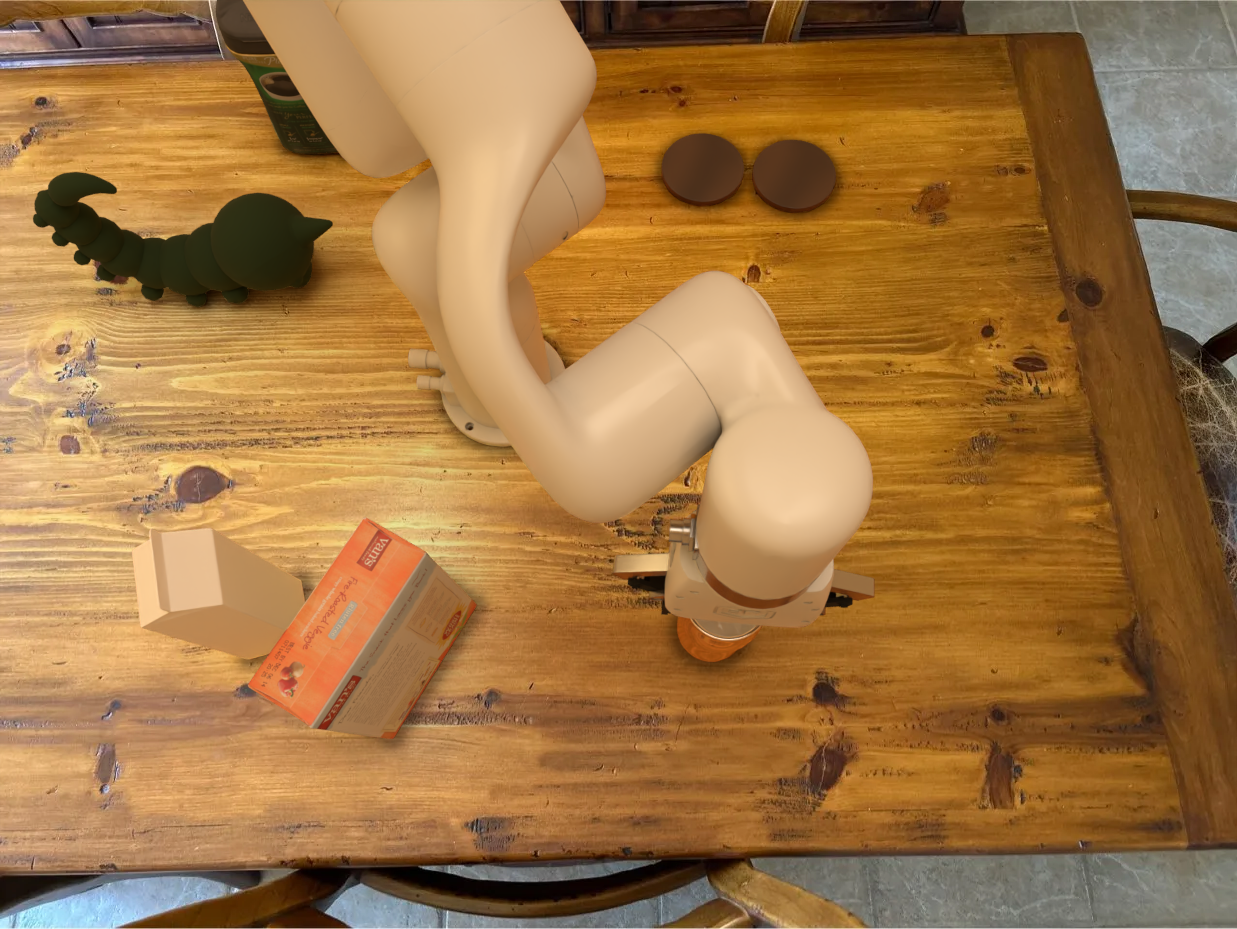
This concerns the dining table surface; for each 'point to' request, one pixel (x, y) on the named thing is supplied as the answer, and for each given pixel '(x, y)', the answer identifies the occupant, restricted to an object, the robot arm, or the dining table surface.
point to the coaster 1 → (702, 169)
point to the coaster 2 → (794, 176)
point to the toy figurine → (187, 244)
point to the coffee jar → (271, 81)
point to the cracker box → (366, 637)
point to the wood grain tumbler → (714, 637)
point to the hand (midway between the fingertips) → (731, 600)
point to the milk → (213, 592)
